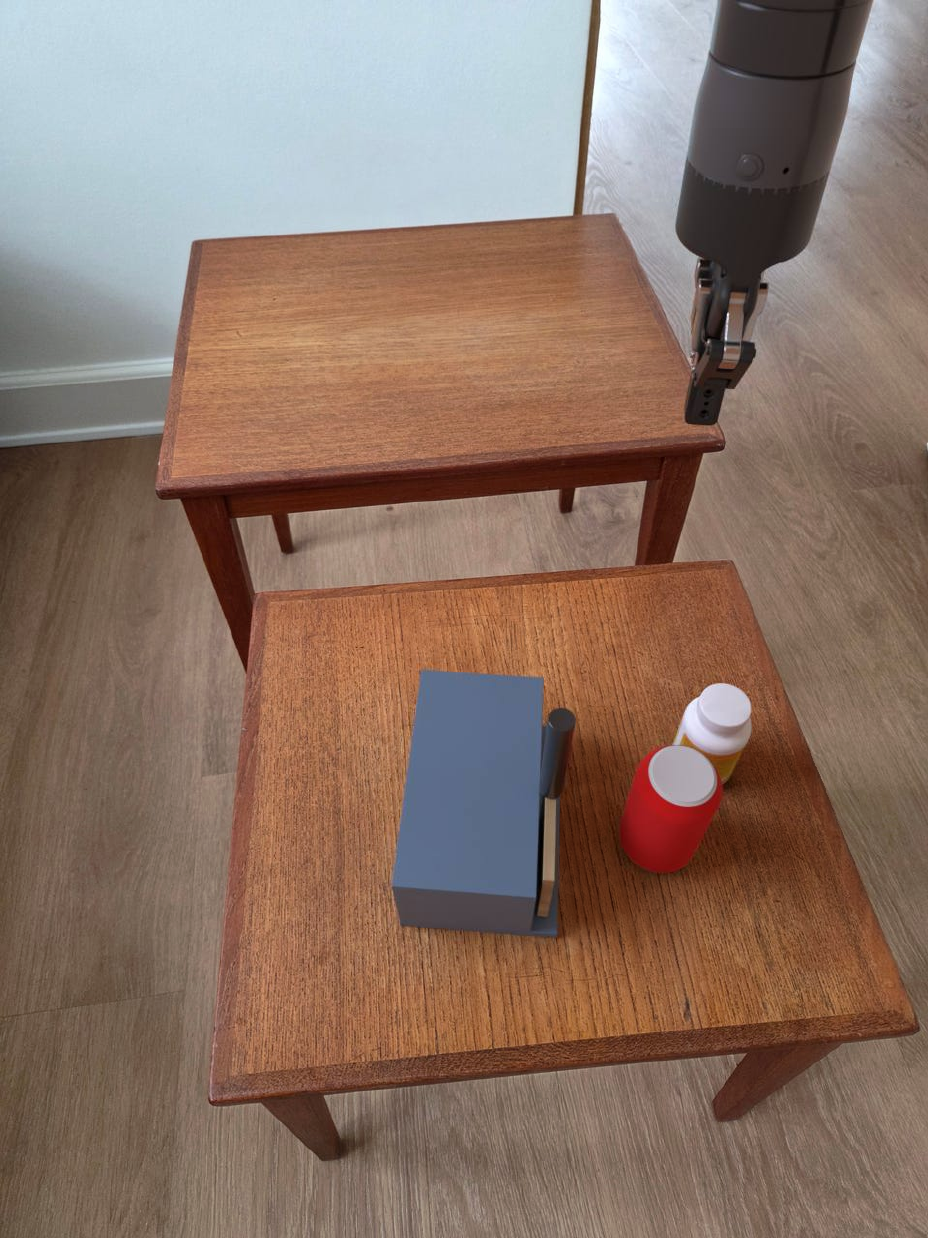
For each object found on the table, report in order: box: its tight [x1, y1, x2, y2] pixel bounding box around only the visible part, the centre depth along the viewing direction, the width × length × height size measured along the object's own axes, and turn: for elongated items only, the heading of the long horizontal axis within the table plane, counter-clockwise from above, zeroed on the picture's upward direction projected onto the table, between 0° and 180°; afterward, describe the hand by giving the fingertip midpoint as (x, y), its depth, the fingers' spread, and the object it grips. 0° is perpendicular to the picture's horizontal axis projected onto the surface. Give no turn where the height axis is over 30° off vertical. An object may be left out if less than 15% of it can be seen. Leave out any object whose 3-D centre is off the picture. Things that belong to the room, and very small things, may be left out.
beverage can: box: [618, 744, 723, 874], centre depth 65 cm, size 6×6×12 cm
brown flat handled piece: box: [537, 707, 577, 917], centre depth 60 cm, size 2×8×18 cm, turn 175°
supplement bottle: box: [671, 682, 753, 785], centre depth 70 cm, size 5×5×10 cm
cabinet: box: [390, 669, 561, 939], centre depth 67 cm, size 12×18×9 cm, turn 175°
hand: (699, 417), depth 59 cm, fingers closed
